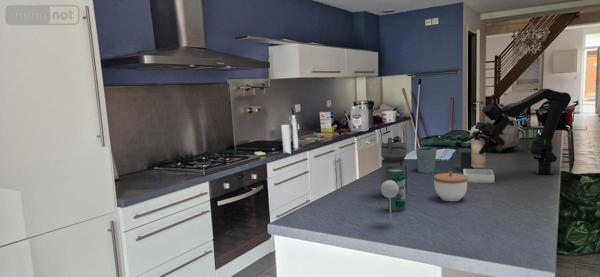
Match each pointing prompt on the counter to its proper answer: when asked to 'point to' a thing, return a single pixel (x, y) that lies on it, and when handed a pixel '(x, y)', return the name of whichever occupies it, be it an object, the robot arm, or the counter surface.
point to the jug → (508, 133)
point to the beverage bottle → (393, 157)
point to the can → (399, 200)
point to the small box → (464, 159)
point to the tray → (479, 175)
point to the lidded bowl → (450, 186)
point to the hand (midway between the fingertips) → (475, 152)
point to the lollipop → (389, 191)
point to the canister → (477, 154)
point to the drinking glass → (426, 159)
